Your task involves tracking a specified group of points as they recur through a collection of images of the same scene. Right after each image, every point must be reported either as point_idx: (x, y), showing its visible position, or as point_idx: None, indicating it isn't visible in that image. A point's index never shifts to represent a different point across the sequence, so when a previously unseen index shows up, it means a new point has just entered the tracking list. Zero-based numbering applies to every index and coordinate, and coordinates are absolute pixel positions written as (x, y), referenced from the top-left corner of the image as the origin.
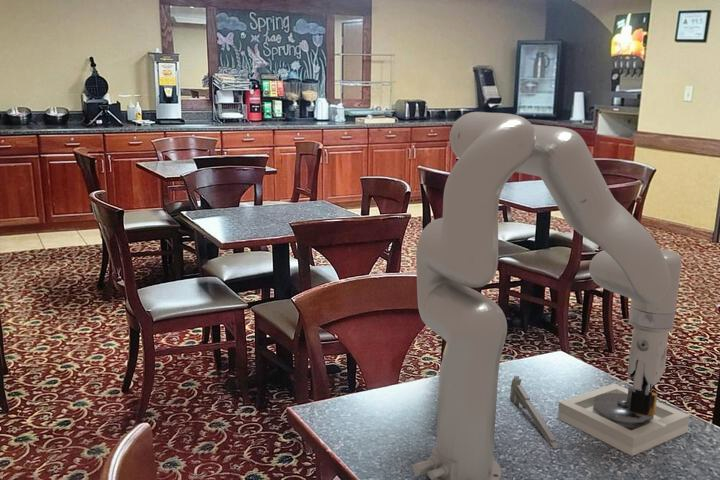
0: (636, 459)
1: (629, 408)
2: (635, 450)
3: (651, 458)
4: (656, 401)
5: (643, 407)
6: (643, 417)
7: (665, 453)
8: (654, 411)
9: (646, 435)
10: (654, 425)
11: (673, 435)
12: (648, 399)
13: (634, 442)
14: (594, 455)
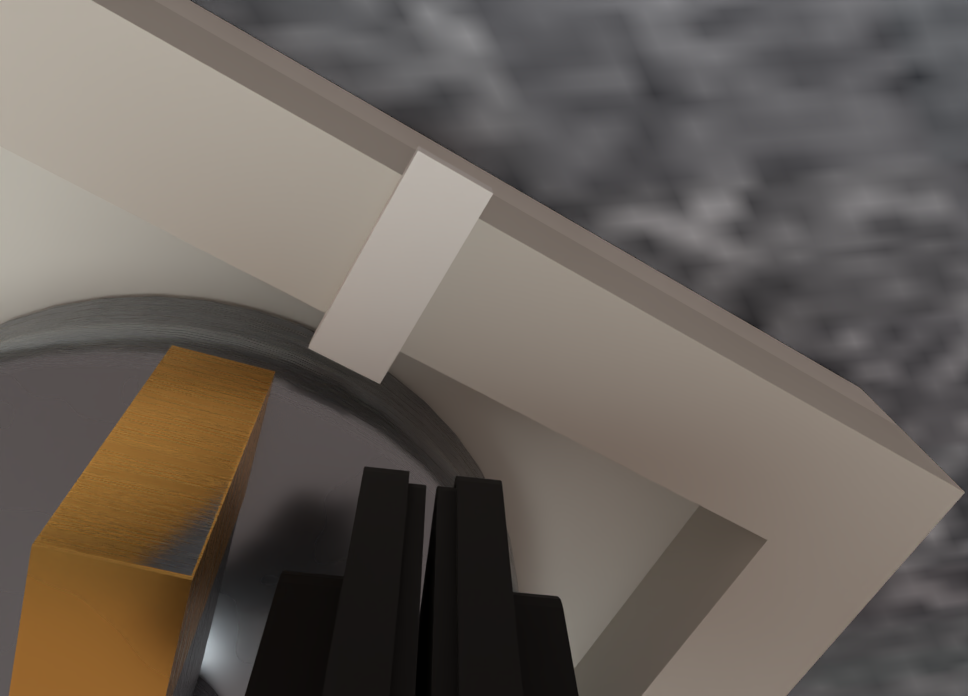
0: (908, 343)
1: (207, 655)
2: (841, 386)
3: (836, 211)
4: (102, 450)
5: (552, 618)
6: None
7: (659, 77)
8: (197, 379)
9: (741, 359)
10: (471, 305)
11: (199, 13)
12: (518, 674)
13: (919, 452)
14: (949, 653)
